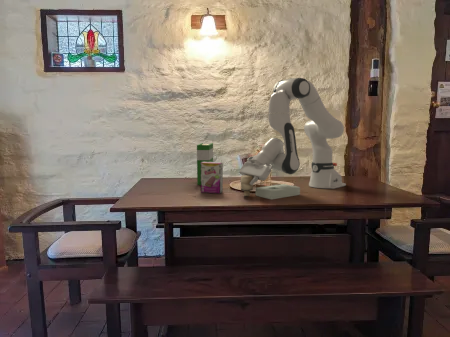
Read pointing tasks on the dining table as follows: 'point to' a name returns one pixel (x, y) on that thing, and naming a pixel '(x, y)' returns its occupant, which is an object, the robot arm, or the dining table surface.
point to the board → (277, 191)
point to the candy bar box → (211, 177)
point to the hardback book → (203, 157)
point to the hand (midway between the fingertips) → (245, 183)
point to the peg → (246, 184)
